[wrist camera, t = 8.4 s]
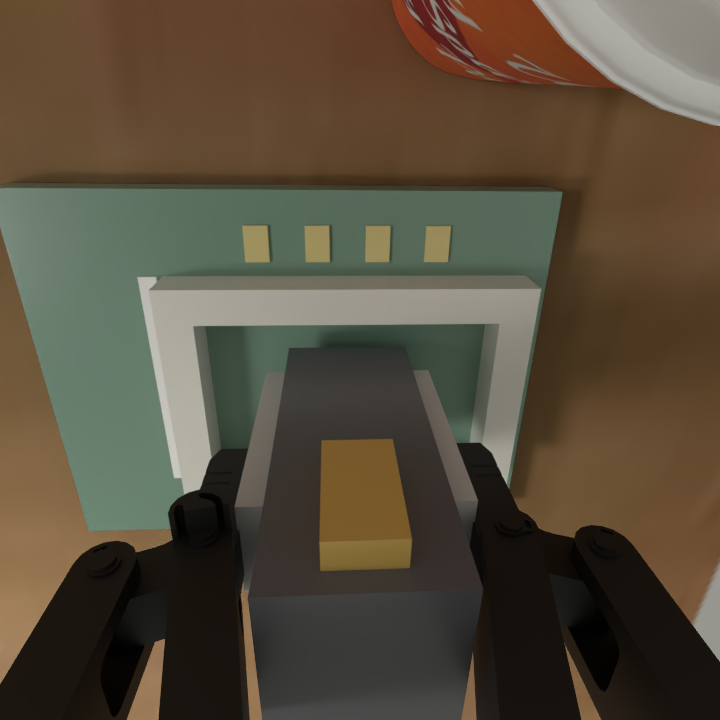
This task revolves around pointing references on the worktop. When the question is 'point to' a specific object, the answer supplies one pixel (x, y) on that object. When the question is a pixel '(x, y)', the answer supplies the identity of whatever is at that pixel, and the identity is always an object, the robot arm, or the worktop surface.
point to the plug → (360, 550)
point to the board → (263, 312)
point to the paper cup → (578, 45)
